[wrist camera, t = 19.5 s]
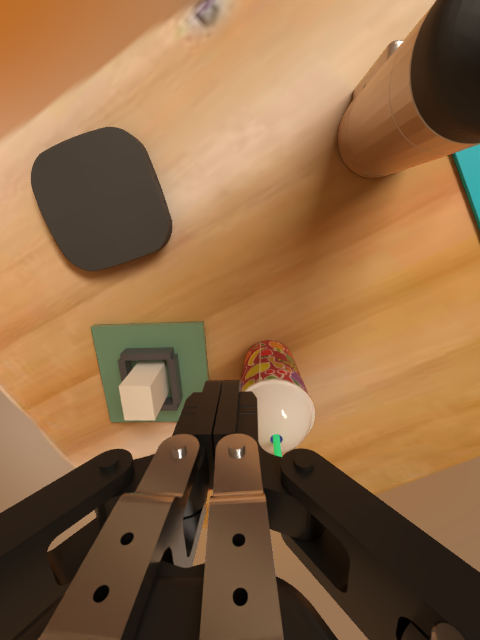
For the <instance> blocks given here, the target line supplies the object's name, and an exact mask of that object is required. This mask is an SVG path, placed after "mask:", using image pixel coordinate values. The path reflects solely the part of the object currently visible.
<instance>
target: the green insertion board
mask: <svg viewBox="0 0 480 640" xmlns="http://www.w3.org/2000/svg"><path fill="white" fill-rule="evenodd" d="M91 331H92V335H93V340H94V345H95V350H96V354H97V359H98V364H99V369H100V373H101V378H102V383H103V387H104V392H105V397H106V402H107V406H108V411H109V416H110V420H111V422H178V419H179V417H180V415H181V412H182V409H183V406H184V404H185V401H186V399H187V398H188V397H189V396H190V395H191V394H192V393H193V392H202V391H203V388H204V384H205V381H209V374H208V363H207V351H206V340H205V328H204V321H202V322H168V323H134V324H100V325H93V326H91ZM139 361H166V366H167V375H168V383H169V393H168V395H167V397H166V399H165V401H164V403H163V405H162V407H161V409H160V411H159V413H158V415H157V418H156V420H124V414H123V409H122V403H121V397H120V392H119V385H120V384H121V383H122V382H123V380H124V379H125V378H126V377H127V375H128V374H129V373H130V372H131V370H132V369H133V368H134V367H135V366H136V364H137V363H138V362H139Z"/></svg>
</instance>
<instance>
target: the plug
mask: <svg viewBox="0 0 480 640" xmlns="http://www.w3.org/2000/svg"><path fill="white" fill-rule="evenodd" d="M119 392H120V397H121V403H122V409H123V414H124V420H156V418H157V415H158V413H159V411H160V409H161V407H162V405H163V403H164V401H165V399H166V397H167V395H168V393H169V383H168V375H167V366H166V361H139V362H138V363H137V364H136V366H135V367H134V368H133V369H132V370H131V372H130V373H129V374H128V375H127V377H126V378H125V379H124V380H123V382H122V383H121V384H120V385H119Z"/></svg>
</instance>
